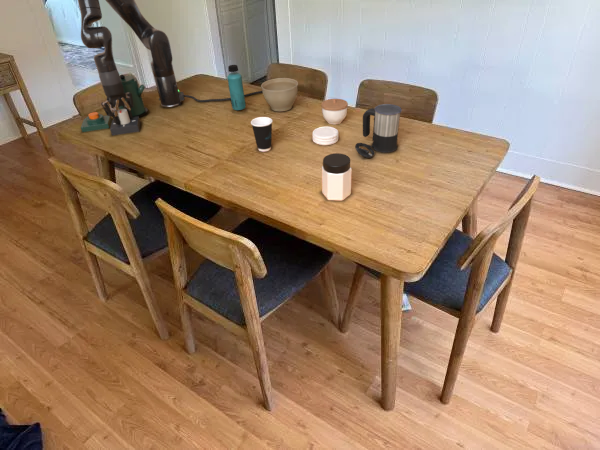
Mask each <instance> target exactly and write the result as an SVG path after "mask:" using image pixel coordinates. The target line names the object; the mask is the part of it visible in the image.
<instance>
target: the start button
mask: <svg viewBox="0 0 600 450" xmlns="http://www.w3.org/2000/svg"><path fill="white" fill-rule="evenodd" d="M99 114H100V113H99V112H98V111H93V112H90V113H89V114H87V115H88V116H89V118H90V119H96V118H99ZM88 116H87V117H88Z"/></svg>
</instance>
